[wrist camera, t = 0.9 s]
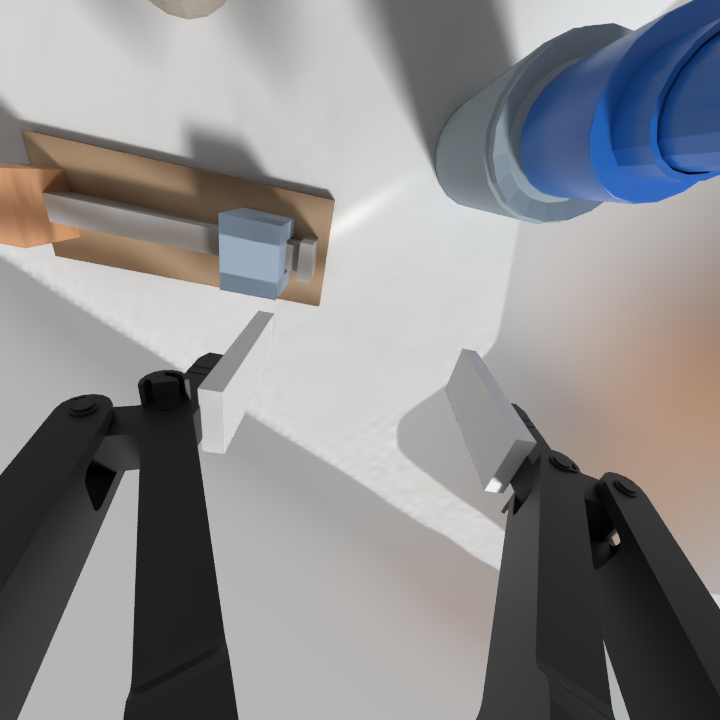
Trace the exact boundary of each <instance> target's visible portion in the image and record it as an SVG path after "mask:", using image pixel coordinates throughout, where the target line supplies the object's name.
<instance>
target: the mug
mask: <svg viewBox="0 0 720 720" xmlns="http://www.w3.org/2000/svg"><path fill="white" fill-rule="evenodd" d="M149 1H150V2H152V3H153V4H154V5H156V6H157V7H159V8H160V9H162V10H163V11H165V12H166V13H167V14H170V15H174V16H178V17H181V18H185V19H194V18H200V17H206V16H208V15H210V14H211V13H213V12H214V11H215V10H217V9H218V8H219V7H221V6H222V5H223V4H224V3H225V1H226V0H149Z"/></svg>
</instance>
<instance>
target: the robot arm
mask: <svg viewBox="0 0 720 720" xmlns="http://www.w3.org/2000/svg"><path fill="white" fill-rule="evenodd" d="M273 324H274V314H273V313H268V312H262V311H258V312H257V314H256V315H255V316H254V317H253V319H252V320H251V321H250V322H249V324H248V325H247V326H246V328H245V329H244V330H243V331H242V333H241V334H240V335H239V336H238V338H237V339H236V340H235V342H234V343H233V344H232V345H231V347H230V348H229V349H228V350H227V352H226V353H225V354H224V355H221V354H215V353H208V354H206V355H204V356H202V357H200V358H198V359H197V360H196V362H195V363H194V364H193V365H192V367H190V368H189V369H188V370H187V373H185V374H184V373H182V372H179V371H175V370H162V371H157V372H153V373H150V374H148V375H146V376H144V377H143V378H142V379H141V380H140V381H139V383H138V389H139V394H140V399H141V404H142V405H137V406H123V407H113V404H112V402H111V400H110V398H108V397H106V396H104V395H97V394H90V395H81V396H78V397H74V398H71V399H69V400H67V401H65V402H62V403H61V404H60V405H59V406H57V407H56V408H55V409H54V410H53V412H52V413H51V414H50V415H49V416H48V418H47V419H46V420H45V421H44V423H43V424H42V425H41V426H40V427H39V429H38V430H37V431H36V432H35V434H34V435H33V436H32V437H31V439H30V440H29V441H28V442H27V443H26V445H25V446H24V447H23V448H22V450H21V451H20V452H19V453H18V454H17V456H16V457H15V458H14V459H13V460H12V462H11V463H10V464H9V465H8V467H7V468H6V469H5V470H4V471H3V473H2V474H1V475H0V720H17V718H18V716H19V714H20V712H21V709H22V707H23V705H24V702H25V700H26V698H27V695H28V693H29V691H30V689H31V686H32V684H33V682H34V679H35V677H36V675H37V672H38V670H39V668H40V665H41V663H42V661H43V658H44V656H45V654H46V652H47V649H48V647H49V645H50V642H51V640H52V638H53V636H54V633H55V631H56V629H57V626H58V624H59V622H60V619H61V617H62V615H63V612H64V610H65V608H66V605H67V603H68V601H69V599H70V596H71V594H72V592H73V589H74V587H75V585H76V582H77V580H78V578H79V576H80V573H81V571H82V569H83V566H84V564H85V562H86V559H87V557H88V555H89V552H90V550H91V548H92V546H93V543H94V541H95V539H96V536H97V534H98V532H99V530H100V527H101V525H102V523H103V520H104V518H105V516H106V513H107V511H108V509H109V507H110V504H111V502H112V500H113V497H114V495H115V493H116V490H117V488H118V486H119V483H120V481H121V479H122V477H123V474H124V472H125V471H127V470H135V469H140V473H139V500H138V501H139V502H138V527H137V553H136V580H135V581H136V582H135V607H134V636H133V661H132V663H133V664H132V681H131V689H130V693H129V695H128V698H127V700H126V705H125V711H124V720H238V713H237V707H236V700H235V693H234V686H233V679H232V672H231V667H230V659H229V654H228V648H227V644H226V640H225V634H224V627H223V620H222V613H221V606H220V599H219V593H218V585H217V579H216V571H215V564H214V558H213V551H212V544H211V537H210V530H209V523H208V516H207V509H206V502H205V496H204V488H203V481H202V474H201V468H200V460H199V453H198V444H199V443H200V441H202V451H208V452H215V453H222V454H224V453H225V451H226V449H227V447H228V445H229V443H230V441H231V439H232V437H233V435H234V433H235V431H236V429H237V427H238V425H239V423H240V421H241V419H242V417H243V415H244V413H245V411H246V409H247V408H248V406H249V404H250V402H251V400H252V398H253V396H254V394H255V392H256V390H257V388H258V386H259V384H260V382H261V380H262V378H263V376H264V374H265V372H266V370H267V368H268V366H269V364H270V362H271V354H272V339H273ZM445 391H446V394H447V397H448V399H449V402H450V404H451V406H452V409H453V412H454V414H455V417H456V419H457V422H458V424H459V427H460V429H461V432H462V435H463V437H464V440H465V442H466V444H467V447H468V450H469V452H470V455H471V457H472V460H473V462H474V465H475V467H476V470H477V473H478V475H479V478H480V480H481V483H482V485H483V488H484V490H485V491H491V492H498V493H504V491H505V490H506V488H507V487H508V485H509V483H511V485H512V487H513V489H514V491H515V492H514V493H513V495H512V496H511V498H510V499H509V501H508V502H507V504H506V505H505V506H504V508H503V510H502V513H505V511H506V510H508V517H507V524H506V531H505V539H504V546H503V553H502V561H501V568H500V575H499V583H498V590H497V597H496V604H495V612H494V619H493V626H492V627H493V628H492V634H491V641H490V648H489V656H488V664H487V670H486V678H485V685H484V692H483V699H482V704H481V708H480V711H479V714H478V716H477V719H476V720H615V718H614V714H613V710H612V704H611V696H610V689H609V682H608V674H607V666H606V659H605V651H604V644H603V640H604V643H605V646H606V649H607V652H608V655H609V658H610V661H611V664H612V667H613V670H614V672H615V676H616V678H617V682H618V685H619V688H620V691H621V694H622V697H623V699H624V702H625V706H626V709H627V712H628V714H629V717H630V720H720V609H719V607H718V606H717V604H716V602H715V601H714V599H713V598H712V596H711V595H710V593H709V592H708V590H707V589H706V587H705V585H704V584H703V582H702V581H701V579H700V578H699V576H698V575H697V573H696V572H695V570H694V568H693V567H692V565H691V564H690V562H689V561H688V559H687V558H686V556H685V554H684V553H683V551H682V550H681V548H680V547H679V545H678V544H677V542H676V541H675V539H674V538H673V536H672V534H671V533H670V531H669V530H668V528H667V527H666V525H665V524H664V522H663V520H662V519H661V517H660V516H659V514H658V513H657V511H656V510H655V508H654V506H653V505H652V504H651V502H650V500H649V499H648V497H647V496H646V494H645V493H644V492H643V491H642V489H640V487H638V486H637V485H636V484H635V483H634V482H633V481H631V480H629V479H628V478H626V477H624V476H622V475H619V474H617V473H612V472H608V473H605V474H604V475H603V476H602V477H601V478H600V480H598V479H595V478H593V477H590V476H587V475H585V474H582V473H581V472H580V470H579V468H578V466H577V465H576V464H575V463H574V462H573V461H572V460H571V459H569V458H568V457H567V456H565V455H563V454H562V453H560V452H557V451H554V450H551V449H550V447H549V446H548V444H547V443H546V441H545V440H544V439H543V437H542V436H541V434H540V433H539V431H538V430H537V429H535V428H536V427H535V426H534V425H533V423H532V422H531V420H530V419H529V417H528V416H527V414H526V413H525V412H524V411H523V410H522V409H521V408H519V407H518V406H517V405H516V404H512V403H510V402H509V400H508V399H507V397H506V395H505V394H504V393H503V391H502V389H501V388H500V386H499V385H498V383H497V382H496V380H495V379H494V377H493V376H492V374H491V373H490V371H489V370H488V368H487V367H486V365H485V364H484V362H483V361H482V359H481V358H480V356H479V355H478V353H477V352H476V351H472V350H467V349H462V351H461V353H460V356H459V358H458V360H457V363H456V365H455V368H454V370H453V372H452V375H451V377H450V380H449V382H448V385H447V387H446V389H445ZM616 533H618V535H619V538H620V543H619V544H618V545H615V544H614V542H613V540H612V537H613V536H614V535H615V534H616Z"/></svg>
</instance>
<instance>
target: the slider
mask: <svg viewBox="0 0 720 720" xmlns="http://www.w3.org/2000/svg"><path fill="white" fill-rule="evenodd" d="M218 219H219V264H220V290H225V291H230V292H236V293H241V294H246V295H251V296H256V297H262V298H267V299H272V300H276V299H277V298H278V296H279V295H280V294H281V292H282V291H283V289H284V288H285V287H286V285H287V284H288V282H289V276H290V270H286V269H285V259H286V247H287V240H288V239H290V238H291V237H292V236H293V232H294V221H295V219H294V218H290V217H285V216H281V215H276V214H271V213H267V212H262V211H258V210H253V209H249V208H244V207H242V208H238V209H233V210H229V211H225V212H220V213H218Z"/></svg>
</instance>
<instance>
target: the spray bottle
mask: <svg viewBox="0 0 720 720" xmlns="http://www.w3.org/2000/svg"><path fill="white" fill-rule="evenodd" d="M435 169H436V173H437V177H438V181H439V184H440V185H441V187H442V189H443V190H444V192H445V193H446V195H447V196H448V197H449V198H451V199H452V200H453V201H455V202H456V203H457V204H460V205H464V206H467V207H471V208H475V209H479V210H483V211H487V212H491V213H495V214H499V215H503V216H507V217H511V218H515V219H519V220H523V221H527V222H532V223H535V224H541V223H553V222H560V221H563V220H569V219H571V218H574V217H576V216H579V215H582V214H584V213H587V212H589V211H591V210H593V209H594V208H596V207H597V206H599V205H600V204H601V203H603V202H604V201H605V202H617V203H628V204H638V203H651V202H658V201H661V200H663V199H666V198H668V197H671V196H674V195H676V194H679V193H681V192H684V191H685V190H687V189H688V188H690V187H691V186H693V185H694V184H696V183H697V182H698V181H703V180H707V179H710V178H713V177H715V176H717V175H720V0H693V1H691V2H689V3H687V4H685V5H683V6H681V7H679V8H677V9H674V10H672V11H670V12H668V13H666V14H664V15H663V16H661V17H659V18H657V19H655V20H653V21H652V22H650V23H648V24H646V25H644V26H643V27H641V28H639V29H637V30H635V31H633V30H630V29H628V28H625V27H622V26H620V25H617V24H614V23H611V24H602V25H592V26H584V27H581V28H573V29H571V30H569V31H567V32H565V33H563V34H561V35H559V36H557V37H555V38H553V39H551V40H549V41H547V42H545V43H544V44H542V45H541V46H540V47H538V48H537V49H536V50H534V51H533V52H532V53H530V54H529V55H528V56H526V57H525V58H524V59H522V60H521V61H520V62H518V63H517V64H516V65H514V66H513V67H512V68H510V69H509V70H508V71H506V72H505V73H504V74H502V75H501V76H500V77H498V78H497V79H496V80H494V81H493V82H492V83H490V84H489V85H488V86H486V87H485V88H484V89H482V90H481V91H480V92H478V93H477V94H476V95H474V96H473V97H472V98H470V99H469V100H468V101H466V102H465V103H464V104H463V105H462V106H461V107H460V108H459V109H458V110H457V111H456V112H455V113H454V114H453V115H451V117H450V119H449V120H448V122H447V124H446V125H445V127H444V129H443V130H442V132H441V135H440V138H439V142H438V145H437V148H436V161H435Z"/></svg>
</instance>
